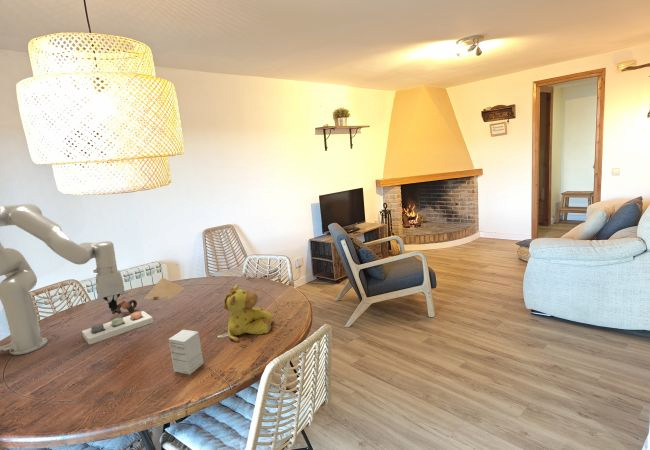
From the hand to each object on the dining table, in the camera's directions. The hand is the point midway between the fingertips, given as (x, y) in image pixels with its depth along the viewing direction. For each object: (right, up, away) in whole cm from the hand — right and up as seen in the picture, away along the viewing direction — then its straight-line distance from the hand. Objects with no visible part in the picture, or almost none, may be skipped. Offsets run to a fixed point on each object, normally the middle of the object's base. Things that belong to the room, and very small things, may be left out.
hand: (113, 309), depth 166 cm
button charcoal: (-4, -10, -3) cm, 12 cm away
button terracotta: (+7, -7, +7) cm, 13 cm away
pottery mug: (-4, -7, +19) cm, 20 cm away
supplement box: (+46, -13, -34) cm, 59 cm away
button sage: (+1, -9, +2) cm, 9 cm away
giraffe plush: (+62, -7, -7) cm, 63 cm away
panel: (+1, -10, +2) cm, 10 cm away
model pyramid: (+4, -2, +45) cm, 45 cm away
